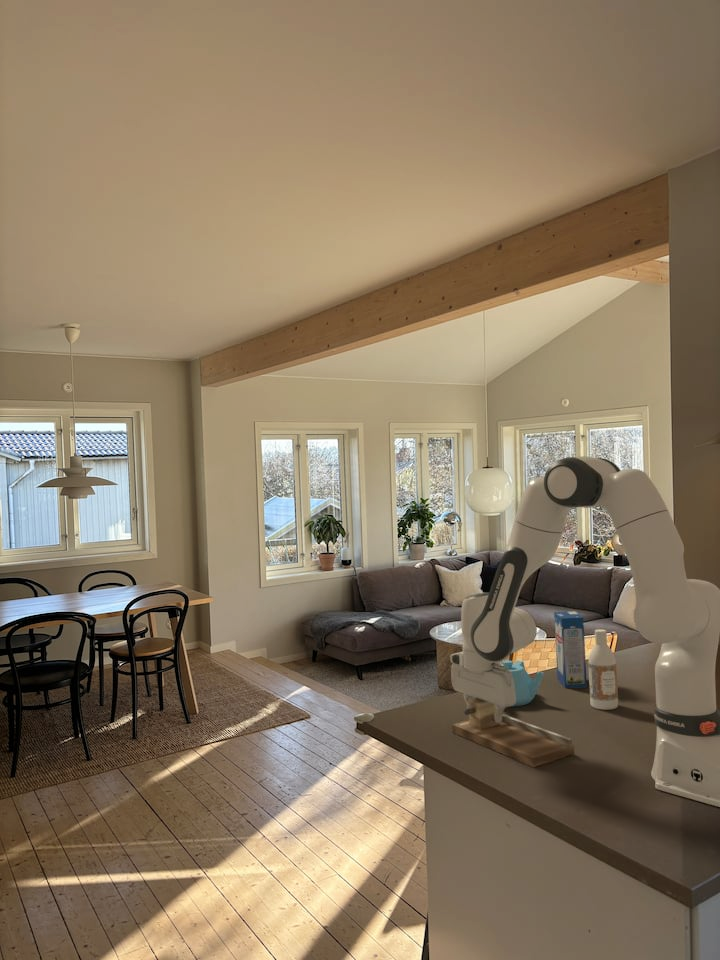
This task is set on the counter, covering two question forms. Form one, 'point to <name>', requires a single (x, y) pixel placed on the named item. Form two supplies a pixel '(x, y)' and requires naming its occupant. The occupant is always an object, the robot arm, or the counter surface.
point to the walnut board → (518, 740)
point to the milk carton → (570, 649)
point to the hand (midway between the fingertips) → (484, 716)
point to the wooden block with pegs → (480, 713)
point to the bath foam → (602, 674)
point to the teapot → (523, 682)
